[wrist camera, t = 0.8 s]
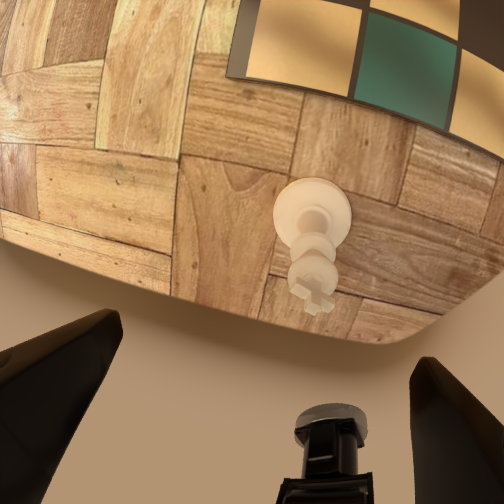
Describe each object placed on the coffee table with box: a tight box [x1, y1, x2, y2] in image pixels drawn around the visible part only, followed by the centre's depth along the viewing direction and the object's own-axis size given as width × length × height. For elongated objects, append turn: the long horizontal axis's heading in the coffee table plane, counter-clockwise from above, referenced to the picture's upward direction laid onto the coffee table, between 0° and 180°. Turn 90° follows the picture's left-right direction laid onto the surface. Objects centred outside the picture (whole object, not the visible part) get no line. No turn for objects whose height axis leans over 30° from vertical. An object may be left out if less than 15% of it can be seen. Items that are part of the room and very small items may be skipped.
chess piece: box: [273, 177, 352, 316], centre depth 15 cm, size 5×5×10 cm
